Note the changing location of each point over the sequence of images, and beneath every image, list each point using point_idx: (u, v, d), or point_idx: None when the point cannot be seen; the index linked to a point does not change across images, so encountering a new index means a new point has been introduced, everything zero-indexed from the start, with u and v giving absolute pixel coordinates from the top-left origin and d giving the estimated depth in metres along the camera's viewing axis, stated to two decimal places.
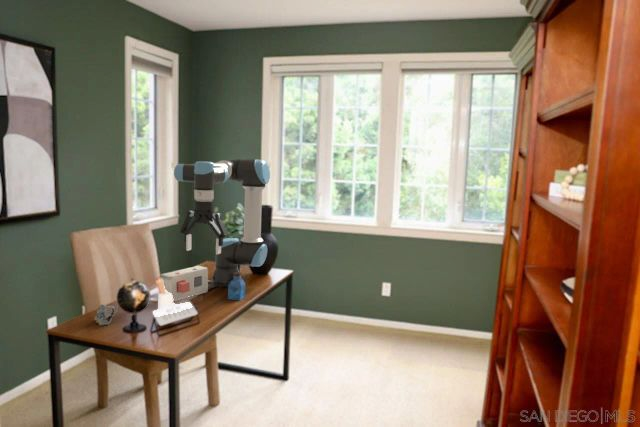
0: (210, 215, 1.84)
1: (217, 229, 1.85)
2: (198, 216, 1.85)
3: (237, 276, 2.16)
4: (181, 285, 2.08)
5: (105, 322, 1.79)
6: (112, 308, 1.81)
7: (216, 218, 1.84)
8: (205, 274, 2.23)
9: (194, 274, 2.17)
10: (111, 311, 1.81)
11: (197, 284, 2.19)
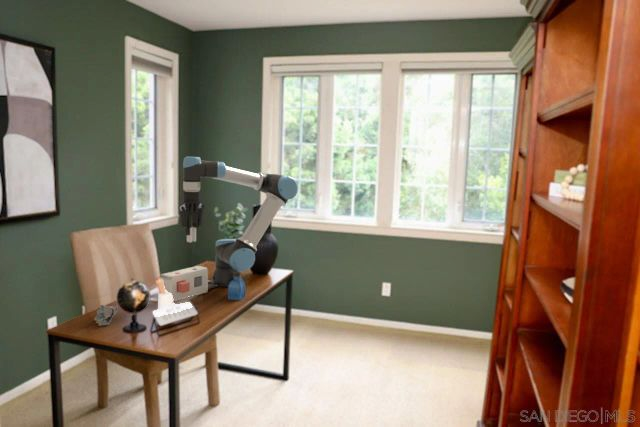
0: None
1: (187, 220, 2.10)
2: None
3: (237, 276, 2.16)
4: (181, 285, 2.08)
5: (105, 323, 1.79)
6: (111, 309, 1.80)
7: None
8: (205, 274, 2.23)
9: (194, 274, 2.17)
10: (111, 312, 1.80)
11: (197, 284, 2.19)
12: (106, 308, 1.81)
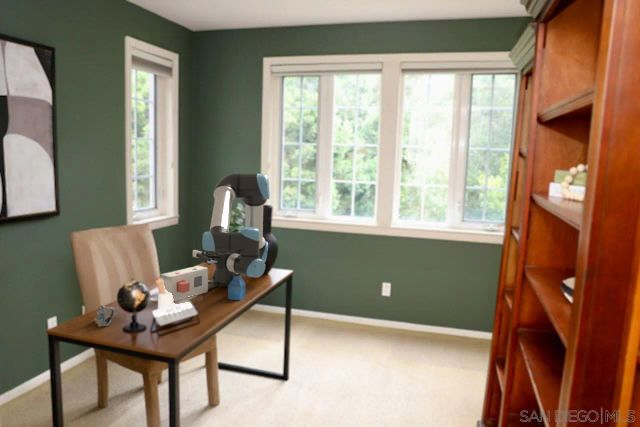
0: None
1: None
2: None
3: (237, 276, 2.16)
4: (181, 285, 2.08)
5: (104, 323, 1.78)
6: (111, 309, 1.79)
7: None
8: (205, 274, 2.23)
9: (194, 274, 2.17)
10: (110, 312, 1.79)
11: (197, 284, 2.19)
12: (106, 309, 1.80)
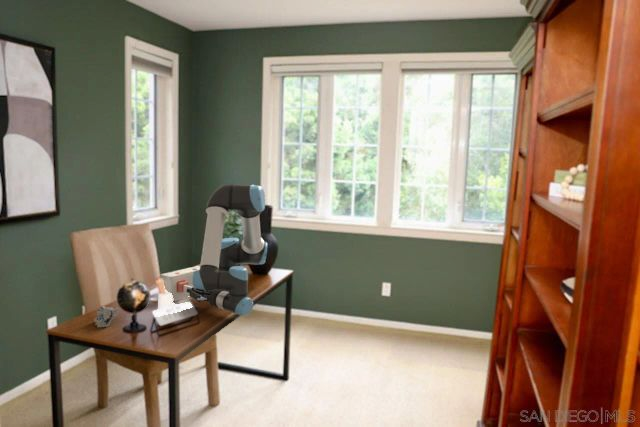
0: None
1: None
2: None
3: None
4: (180, 285, 2.09)
5: (103, 324, 1.77)
6: (110, 310, 1.78)
7: None
8: None
9: None
10: (110, 313, 1.78)
11: None
12: (105, 310, 1.79)
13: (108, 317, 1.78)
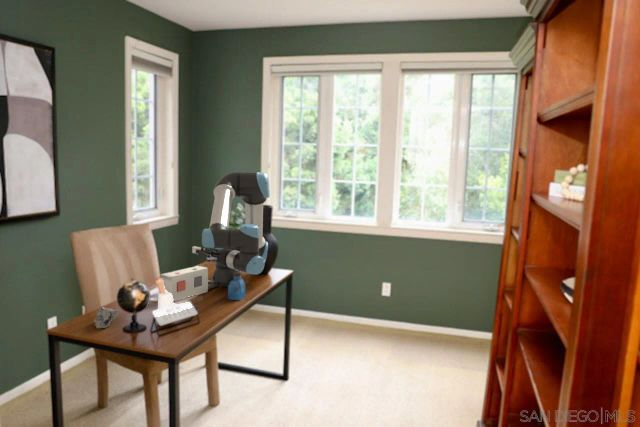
0: None
1: None
2: None
3: (237, 276, 2.16)
4: (177, 284, 2.10)
5: (102, 325, 1.76)
6: (110, 311, 1.77)
7: None
8: (205, 274, 2.23)
9: (194, 274, 2.17)
10: (109, 314, 1.77)
11: (197, 284, 2.19)
12: (105, 310, 1.78)
13: (107, 318, 1.77)
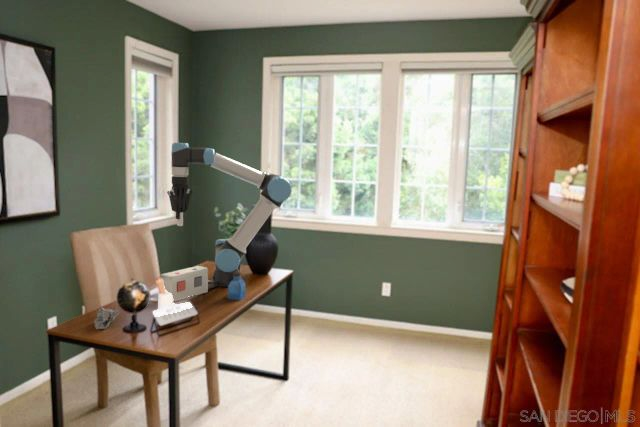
0: None
1: (176, 204, 2.17)
2: None
3: (237, 276, 2.16)
4: (177, 284, 2.10)
5: (101, 326, 1.75)
6: (109, 312, 1.76)
7: None
8: (205, 274, 2.23)
9: (194, 274, 2.17)
10: (108, 315, 1.76)
11: (197, 284, 2.19)
12: (104, 311, 1.77)
13: (106, 319, 1.76)
